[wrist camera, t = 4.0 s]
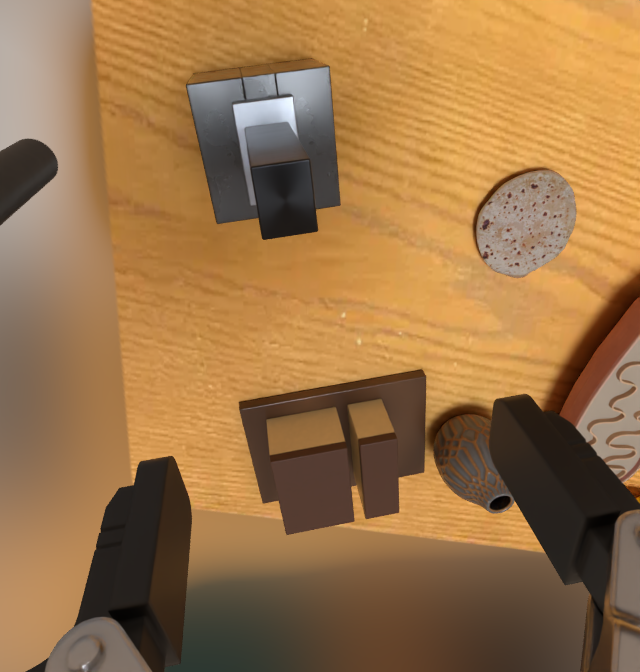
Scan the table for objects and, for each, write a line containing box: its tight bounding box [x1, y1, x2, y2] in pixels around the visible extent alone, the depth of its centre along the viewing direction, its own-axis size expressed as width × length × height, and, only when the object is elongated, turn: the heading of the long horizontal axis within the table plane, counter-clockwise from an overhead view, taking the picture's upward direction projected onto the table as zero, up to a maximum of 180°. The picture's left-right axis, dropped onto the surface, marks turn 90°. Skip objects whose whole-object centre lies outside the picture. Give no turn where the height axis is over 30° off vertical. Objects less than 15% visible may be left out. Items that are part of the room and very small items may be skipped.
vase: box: [434, 414, 514, 513], centre depth 44 cm, size 7×7×9 cm
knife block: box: [186, 58, 341, 224], centre depth 28 cm, size 7×7×6 cm
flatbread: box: [476, 170, 576, 278], centre depth 37 cm, size 8×8×1 cm
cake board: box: [239, 370, 426, 503], centre depth 45 cm, size 16×12×1 cm
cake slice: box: [348, 399, 399, 519], centre depth 43 cm, size 3×9×5 cm, turn 6°
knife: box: [232, 94, 318, 240], centre depth 24 cm, size 3×5×14 cm, turn 6°
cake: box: [266, 407, 354, 535], centre depth 43 cm, size 6×9×5 cm, turn 6°
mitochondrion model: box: [560, 297, 640, 483], centre depth 44 cm, size 23×10×5 cm, turn 167°
